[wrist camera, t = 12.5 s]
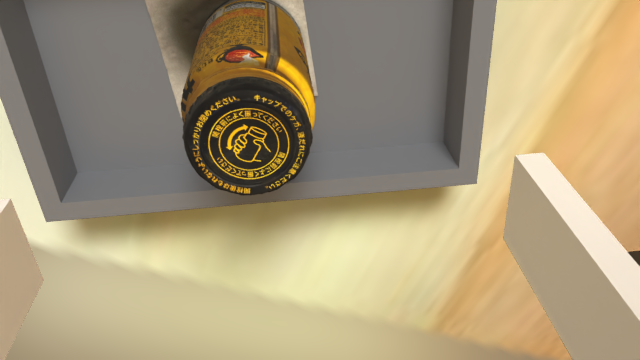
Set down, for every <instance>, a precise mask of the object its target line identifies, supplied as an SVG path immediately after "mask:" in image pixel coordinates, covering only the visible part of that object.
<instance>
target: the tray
mask: <svg viewBox="0 0 640 360" xmlns="http://www.w3.org/2000/svg"><path fill="white" fill-rule="evenodd" d="M303 3H304V10H305V16H306V23H307V29H308V35H309V42H310V48H311V54H312V61H313V67H314V73H315V80H316V86H317V92H318V96H314V97H315V122H314V126H313V129H312V135H313V139H312V144H311V147H310V153H309V155H308V158H307V160H306V162H305V164H304V166H303V168H302V170H301V171H300V173H299V174H298V175H297V176H296V177H295V178H294V179H293V180H291V181H289V182H287V183H286V184H284V185H283V186H282V187H280V188H279V189H278V190H274V191H272V192H267V193H264V194H257V195H244V196H243V195H239V194H235V193H230V192H227V191H223V190H219V189H217V188H215V187H213V186H212V185H211V184H209V183H208V182H207V181H206V180H204V179H203V178H201V177H200V176H199V175H198V174H197V172H196V171H195V169H194V168H193V167H192V165H191V163H190V161H189V159H188V157H187V154H186V151H185V148H184V141H183V138H182V136H183V125H184V124H183V120H182V118H181V116H180V113H179V110H178V106H177V103H176V99H175V96H174V92H173V90H172V86H171V83H170V79H169V76H168V70H167V69H166V66H165V63H164V59H163V56H162V52H161V49H160V46H159V43H158V40H157V37H156V33H155V30H154V27H153V24H152V20H151V17H150V14H149V12H148V9H147V5H146V2H145V0H0V98H1V100H2V103H3V106H4V108H5V111H6V114H7V117H8V119H9V122H10V125H11V127H12V130H13V133H14V136H15V138H16V141H17V144H18V147H19V149H20V152H21V155H22V157H23V160H24V163H25V166H26V168H27V171H28V174H29V176H30V179H31V182H32V185H33V187H34V190H35V193H36V195H37V198H38V201H39V204H40V206H41V209H42V212H43V214H44V217H45V220H46V222H51V221H62V220H74V219H85V218H96V217H107V216H119V215H130V214H141V213H152V212H164V211H175V210H186V209H197V208H209V207H220V206H231V205H242V204H254V203H265V202H276V201H287V200H299V199H310V198H321V197H333V196H344V195H355V194H366V193H378V192H389V191H400V190H411V189H423V188H434V187H445V186H456V185H468V184H477V176H478V167H479V158H480V149H481V140H482V131H483V122H484V112H485V103H486V94H487V85H488V76H489V67H490V58H491V49H492V40H493V31H494V22H495V13H496V4H497V0H303Z"/></svg>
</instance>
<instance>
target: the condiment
mask: <svg viewBox="0 0 640 360" xmlns="http://www.w3.org/2000/svg"><path fill="white" fill-rule="evenodd" d="M145 2H146V5H147V9H148V12H149V14H150V17H151V20H152V24H153V27H154V30H155V33H156V37H157V40H158V43H159V46H160V49H161V52H162V56H163V59H164V63H165V66H166V69H167V70H168V76H169V79H170V83H171V86H172V90H173V92H174V96H175V99H176V103H177V106H178V110H179V113H180V116H181V118H182V120H183V124H184V125H183V136H182V138H183V141H184V148H185V151H186V154H187V157H188V159H189V161H190V163H191V165H192V167H193V168H194V169H195V171H196V172H197V174H198V175H199V176H200V177H201V178H203V179H204V180H206V181H207V182H208V183H209V184H211V185H212V186H213V187H215V188H217V189H219V190H223V191H227V192H230V193H235V194H239V195H243V196H244V195H257V194H264V193H267V192H272V191H274V190H278V189H279V188H280V187H282V186H283V185H284V184H286V183H287V182H289V181H291V180H293V179H294V178H295V177H296V176H297V175H298V174H299V173H300V171H301V170H302V168H303V166H304V164H305V162H306V160H307V158H308V155H309V153H310V147H311V144H312V139H313V135H312V129H313V126H314V122H315V97H314V96H318V92H317V86H316V80H315V73H314V67H313V61H312V54H311V48H310V42H309V35H308V29H307V23H306V16H305V10H304V3H303V0H145Z"/></svg>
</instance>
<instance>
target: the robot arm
mask: <svg viewBox="0 0 640 360" xmlns="http://www.w3.org/2000/svg"><path fill="white" fill-rule="evenodd" d="M503 239H504V240H505V242H506V244H507V246H508V247H509V249H510V251H511V253H512V254H513V256H514V258H515V260H516V261H517V263H518V265H519V267H520V268H521V270H522V272H523V274H524V275H525V277H526V279H527V281H528V282H529V284H530V286H531V288H532V289H533V291H534V293H535V295H536V296H537V298H538V300H539V302H540V303H541V305H542V307H543V309H544V310H545V312H546V314H547V316H548V317H549V319H550V321H551V323H552V324H553V326H554V328H555V330H556V331H557V333H558V335H559V337H560V338H561V340H562V342H563V344H564V345H565V347H566V349H567V351H568V352H569V354H570V356H571V358H572V359H573V360H640V251H633V252H627V251H626V250H625V249H624V247H623V246H622V245H621V244H620V243H619V241H618V240H617V239H616V238H615V237H614V236H613V234H612V233H611V232H610V231H609V230H608V228H607V227H606V226H605V225H604V224H603V222H602V221H601V220H600V219H599V218H598V217H597V215H596V214H595V213H594V212H593V211H592V209H591V208H590V207H589V206H588V205H587V204H586V202H585V201H584V200H583V199H582V198H581V196H580V195H579V194H578V193H577V192H576V191H575V189H574V188H573V187H572V186H571V185H570V183H569V182H568V181H567V180H566V179H565V177H564V176H563V175H562V174H561V173H560V172H559V170H558V169H557V168H556V167H555V166H554V164H553V163H552V162H551V161H550V160H549V159H548V157H547V156H546V155H545V154H544V153H535V154H523V155H515V160H514V167H513V174H512V180H511V187H510V194H509V201H508V208H507V215H506V222H505V229H504V236H503ZM43 281H44V279H43V277H42V274H41V272H40V270H39V267H38V265H37V262H36V260H35V257H34V255H33V252H32V250H31V247H30V245H29V242H28V240H27V238H26V235H25V233H24V230H23V228H22V225H21V223H20V220H19V218H18V216H17V213H16V211H15V208H14V206H13V203H12V201H11V199H2V200H0V360H5V358H6V356H7V354H8V352H9V350H10V348H11V346H12V343H13V342H14V340H15V338H16V336H17V334H18V331H19V329H20V327H21V326H22V323H23V321H24V319H25V317H26V315H27V313H28V311H29V309H30V307H31V305H32V303H33V301H34V299H35V297H36V295H37V293H38V291H39V289H40V287H41V285H42V283H43Z"/></svg>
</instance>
